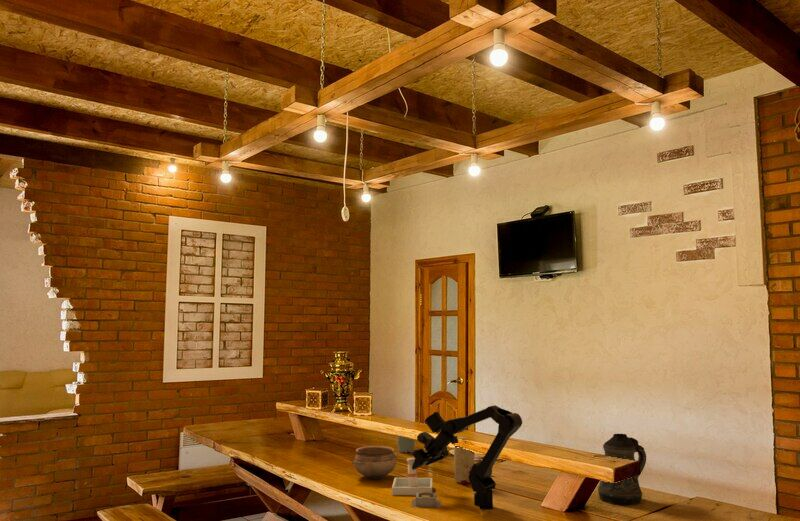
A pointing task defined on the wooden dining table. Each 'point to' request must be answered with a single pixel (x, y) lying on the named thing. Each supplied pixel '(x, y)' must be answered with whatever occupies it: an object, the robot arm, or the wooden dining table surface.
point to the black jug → (628, 488)
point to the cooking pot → (375, 461)
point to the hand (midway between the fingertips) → (419, 466)
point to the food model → (463, 463)
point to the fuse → (411, 473)
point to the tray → (402, 487)
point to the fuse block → (426, 500)
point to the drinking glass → (405, 444)
